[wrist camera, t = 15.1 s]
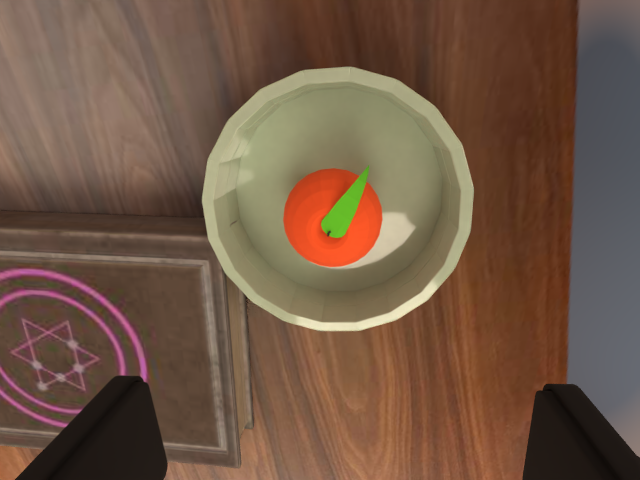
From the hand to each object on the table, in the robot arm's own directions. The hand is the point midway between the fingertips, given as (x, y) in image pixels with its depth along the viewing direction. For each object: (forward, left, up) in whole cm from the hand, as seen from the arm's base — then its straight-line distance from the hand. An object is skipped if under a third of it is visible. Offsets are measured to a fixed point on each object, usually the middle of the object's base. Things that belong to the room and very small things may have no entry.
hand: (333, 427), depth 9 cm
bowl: (+1, -1, -22) cm, 21 cm away
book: (+25, +10, -22) cm, 34 cm away
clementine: (+1, -1, -21) cm, 21 cm away
